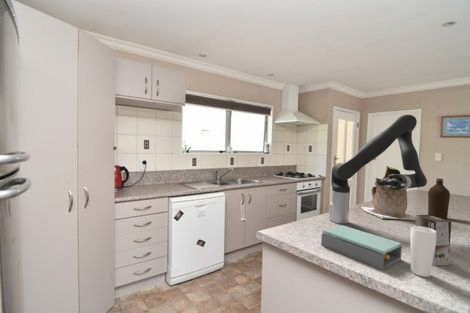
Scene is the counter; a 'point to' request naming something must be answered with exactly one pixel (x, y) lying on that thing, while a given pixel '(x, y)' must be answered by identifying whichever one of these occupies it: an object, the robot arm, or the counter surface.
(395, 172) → the cookie jar
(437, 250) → the coffee box
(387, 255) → the wooden dowel rod
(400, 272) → the counter surface
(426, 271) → the white tapered cylinder
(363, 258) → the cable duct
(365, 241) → the panel
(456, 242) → the counter surface
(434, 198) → the olive oil
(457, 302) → the counter surface
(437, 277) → the counter surface
